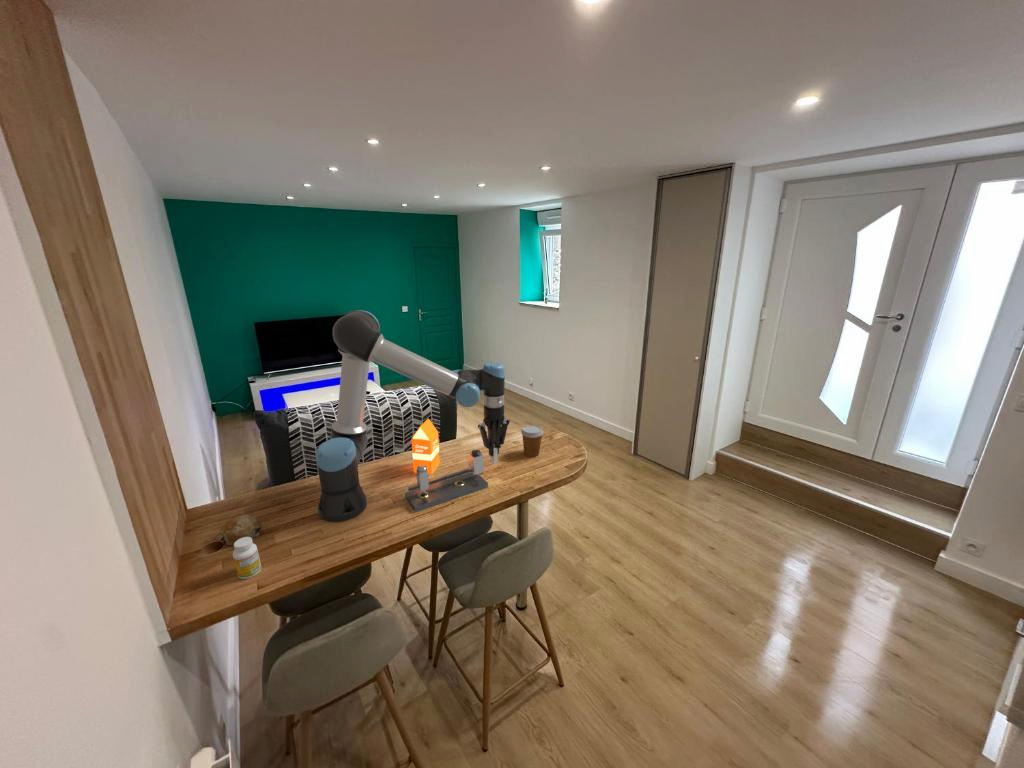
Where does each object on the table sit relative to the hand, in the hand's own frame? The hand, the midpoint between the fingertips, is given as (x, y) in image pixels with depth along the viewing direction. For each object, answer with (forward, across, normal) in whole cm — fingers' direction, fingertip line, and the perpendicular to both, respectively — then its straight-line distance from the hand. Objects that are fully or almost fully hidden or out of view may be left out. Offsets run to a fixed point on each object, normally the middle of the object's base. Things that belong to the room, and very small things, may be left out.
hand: (493, 462), depth 152 cm
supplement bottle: (+7, -80, -6) cm, 81 cm away
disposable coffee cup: (+7, +24, +7) cm, 26 cm away
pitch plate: (+6, -20, 0) cm, 21 cm away
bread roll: (+7, -82, +13) cm, 83 cm away
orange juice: (+7, -19, +21) cm, 29 cm away
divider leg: (+3, -8, 0) cm, 8 cm away
